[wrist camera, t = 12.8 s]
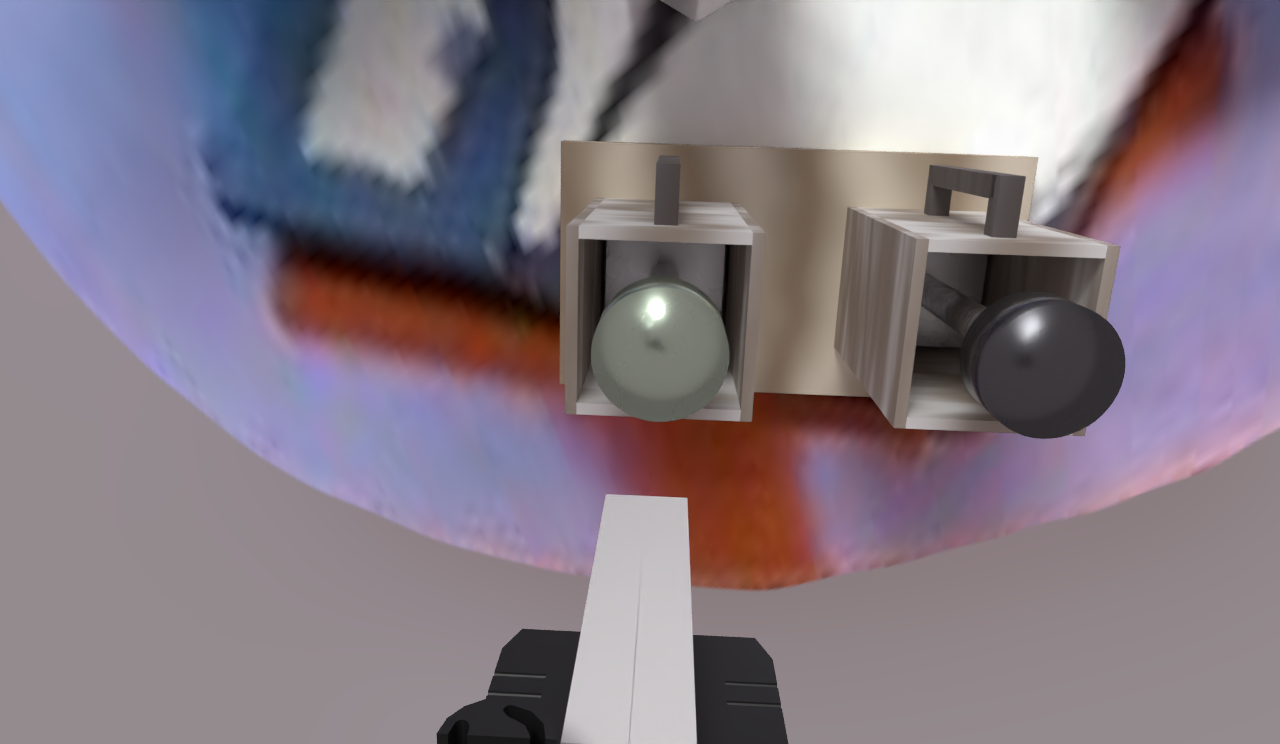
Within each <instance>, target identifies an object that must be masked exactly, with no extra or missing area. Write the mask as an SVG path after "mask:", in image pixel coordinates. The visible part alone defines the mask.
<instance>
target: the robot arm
mask: <svg viewBox="0 0 1280 744" xmlns="http://www.w3.org/2000/svg"><path fill="white" fill-rule="evenodd" d="M437 744H788V740H787V734H786V729H785V724H784V718H783V713H782V709H781V702H780V697H779V691H778V688H777V681H776V675H775V670H774V665H773V660H772V658H771V657H770V656H769V655H768V654H767V652H766V651H765V650H764V649H763V647H762V646H761V645H760V644H759V642H758V641H757V640H756V639H755V638H743V637H723V636H721V637H720V636H703V635H701V636H700V635H693V631H692V606H691V579H690V553H689V527H688V501H687V498H680V497H658V496H636V495H614V494H606V497H605V502H604V507H603V513H602V518H601V524H600V529H599V535H598V540H597V546H596V551H595V557H594V562H593V568H592V573H591V579H590V585H589V590H588V596H587V602H586V606H585V612H584V617H583V623H582V628H581V632H572V631H554V630H534V629H522V630H521V631H520V632H519V633H518V634H517V635H516V636H515V637H513V638H512V639H511V640H510V641H509V642H508V643H507V644H506V645H505V646H504V647H503V648H502V651H501V654H500V657H499V660H498V663H497V666H496V669H495V674H494V676H493V678H492V681H491V684H490V687H489V690H488V696H486V699H485V700H482V701H479V702H476V703H473V704H470V705H467V706H464V707H463V708H461V709H460V710H458V711H457V712H455V713H454V714H453V715H451V716H450V717H448V718H447V719H446V721H445V722H444V724H443V725H442V726H441V728H440V729H439V731H438V733H437Z"/></svg>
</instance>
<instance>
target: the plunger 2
mask: <svg viewBox="0 0 1280 744" xmlns="http://www.w3.org/2000/svg"><path fill="white" fill-rule="evenodd" d="M987 259H988V254H973V253H946V252H928V254H927V262H926V270H925V278H924V286H923V294H922V302H921V309H920V317H919V325H918V333H917V341H916V346H935V347H960V348H961V351H960V371H961V375H962V379H963V381H964V384H965V386H966V388H967V390H968V391H969V393H970V394H971V395H972V397H973V398H974V399H975V400H976V401H977V402H978V403H979V404H980V405H982V406H983V407H984V408H985V409H986V410H987V411H988V412H989V413H990V414H991V415H993V416H994V417H995V418H996V419H997V420H998V421H999V422H1000V423H1001V424H1003V425H1004V426H1006V427H1007V428H1008V429H1010V430H1012V431H1014V432H1016V433H1018V434H1021V435H1023V436H1028V437H1032V438H1041V439H1046V438H1057V437H1062V436H1066V435H1070V434H1072V433H1075V432H1078V431H1080V430H1081V429H1083V428H1085V427H1087V426H1089V425H1090V424H1092V423H1093V422H1094V421H1096V420H1097V419H1098V418H1099V417H1100V416H1102V414H1103V413H1104V412H1105V411H1106V410H1107V409H1108V408H1109V407H1110V405H1111V404H1112V403H1113V401H1114V399H1115V398H1116V396H1117V394H1118V392H1119V390H1120V387H1121V385H1122V382H1123V378H1124V373H1125V354H1124V348H1123V345H1122V342H1121V340H1120V338H1119V336H1118V334H1117V332H1116V331H1115V329H1114V328H1113V326H1112V325H1111V324H1110V323H1109V322H1108V321H1107V320H1106V319H1105V318H1103V317H1102V316H1101V315H1099V314H1098V313H1096V312H1094V311H1092V310H1090V309H1088V308H1086V307H1083V306H1081V305H1079V304H1077V303H1074V302H1072V301H1070V300H1067V299H1065V298H1063V297H1061V296H1058V295H1055V294H1052V293H1048V292H1042V291H1026V292H1019V293H1015V294H1012V295H1009V296H1006V297H1004V298H1001V299H1000V300H998V301H996V302H994V303H993V304H991V305H990V306H989V307H985V306H983V305H981V300H982V293H983V286H984V279H985V272H986V266H987Z"/></svg>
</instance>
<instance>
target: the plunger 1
mask: <svg viewBox="0 0 1280 744" xmlns="http://www.w3.org/2000/svg"><path fill="white" fill-rule="evenodd" d="M724 259H725V244H707V243H680V242H654V241H627V240H607V250H606V297H605V309H604V311H603V313H602V315H601V318H600V320H599V323H598V326H597V328H596V331H595V334H594V336H593V341H592V346H591V364H592V369H593V373H594V376H595V379H596V381H597V383H598V385H599V387H600V389H601V390H602V392H603V393H604V395H605V396H606V397H607V398H608V399H609V400H610V402H612V403H613V404H614V405H615V406H616V407H617V408H619V409H620V410H622V411H623V412H625V413H627V414H629V415H631V416H633V417H636V418H639V419H642V420H646V421H654V422H668V421H675V420H679V419H682V418H685V417H687V416H690V415H692V414H694V413H696V412H697V411H699V410H701V409H702V408H703V407H704V406H706V405H707V404H708V403H709V402H710V401H711V400H712V399H713V398H714V397H715V395H716V394H717V393H718V391H719V390H720V388H721V386H722V385H723V382H724V380H725V377H726V374H727V371H728V366H729V344H728V339H727V335H726V331H725V328H724V324H723V320H722V317H721V309H722V292H723V276H724Z"/></svg>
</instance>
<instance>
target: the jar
mask: <svg viewBox="0 0 1280 744" xmlns="http://www.w3.org/2000/svg"><path fill="white" fill-rule="evenodd" d="M661 1H662V2H664V3H666V4H667V5H669V6H671V7H672V8H674V9H675V10H677V11H679V12H680V13H682V14H683V15H685V16H687V17H688V18H690V19H692V20H693V21H700V20H701V19H703V18H704V17H706V16H708V15H709V14H711V13H712V12H714V11H716V10H717V9H719V8H720V7H722V6H724V5H725V4H727V3H729V2H730V1H732V0H661Z"/></svg>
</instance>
